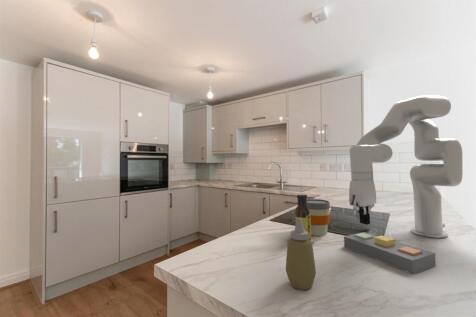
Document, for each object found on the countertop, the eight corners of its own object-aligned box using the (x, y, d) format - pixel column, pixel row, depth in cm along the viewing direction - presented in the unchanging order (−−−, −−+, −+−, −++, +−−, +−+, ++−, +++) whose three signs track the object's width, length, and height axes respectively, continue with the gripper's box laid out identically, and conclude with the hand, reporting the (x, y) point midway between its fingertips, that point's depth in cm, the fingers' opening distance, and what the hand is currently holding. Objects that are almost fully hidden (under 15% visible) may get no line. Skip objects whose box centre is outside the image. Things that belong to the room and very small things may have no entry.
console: (365, 241, 91) (364, 232, 91) (435, 265, 69) (435, 253, 69) (344, 246, 86) (343, 236, 87) (413, 274, 64) (412, 260, 65)
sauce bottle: (312, 244, 90) (310, 195, 90) (296, 243, 91) (295, 195, 91) (310, 238, 96) (308, 193, 96) (295, 238, 97) (294, 193, 98)
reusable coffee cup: (333, 231, 106) (332, 200, 106) (328, 239, 95) (327, 204, 96) (306, 227, 113) (306, 198, 113) (299, 234, 102) (298, 202, 103)
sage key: (362, 238, 88) (362, 232, 88) (373, 241, 84) (372, 236, 84) (354, 240, 86) (354, 234, 86) (365, 243, 82) (365, 237, 82)
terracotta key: (406, 252, 74) (406, 246, 74) (421, 257, 70) (421, 250, 70) (398, 255, 72) (398, 248, 72) (413, 260, 68) (413, 253, 68)
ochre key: (382, 241, 81) (382, 235, 81) (395, 245, 77) (394, 239, 77) (374, 243, 79) (374, 237, 79) (386, 247, 75) (386, 241, 75)
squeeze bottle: (282, 277, 64) (280, 215, 64) (309, 276, 65) (307, 214, 65) (291, 294, 56) (289, 223, 56) (321, 291, 57) (319, 221, 57)
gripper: (366, 174, 92) (368, 218, 92) (340, 177, 86) (343, 224, 86) (384, 175, 86) (387, 222, 85) (357, 178, 80) (360, 229, 79)
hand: (364, 223), depth 86 cm, fingers closed
